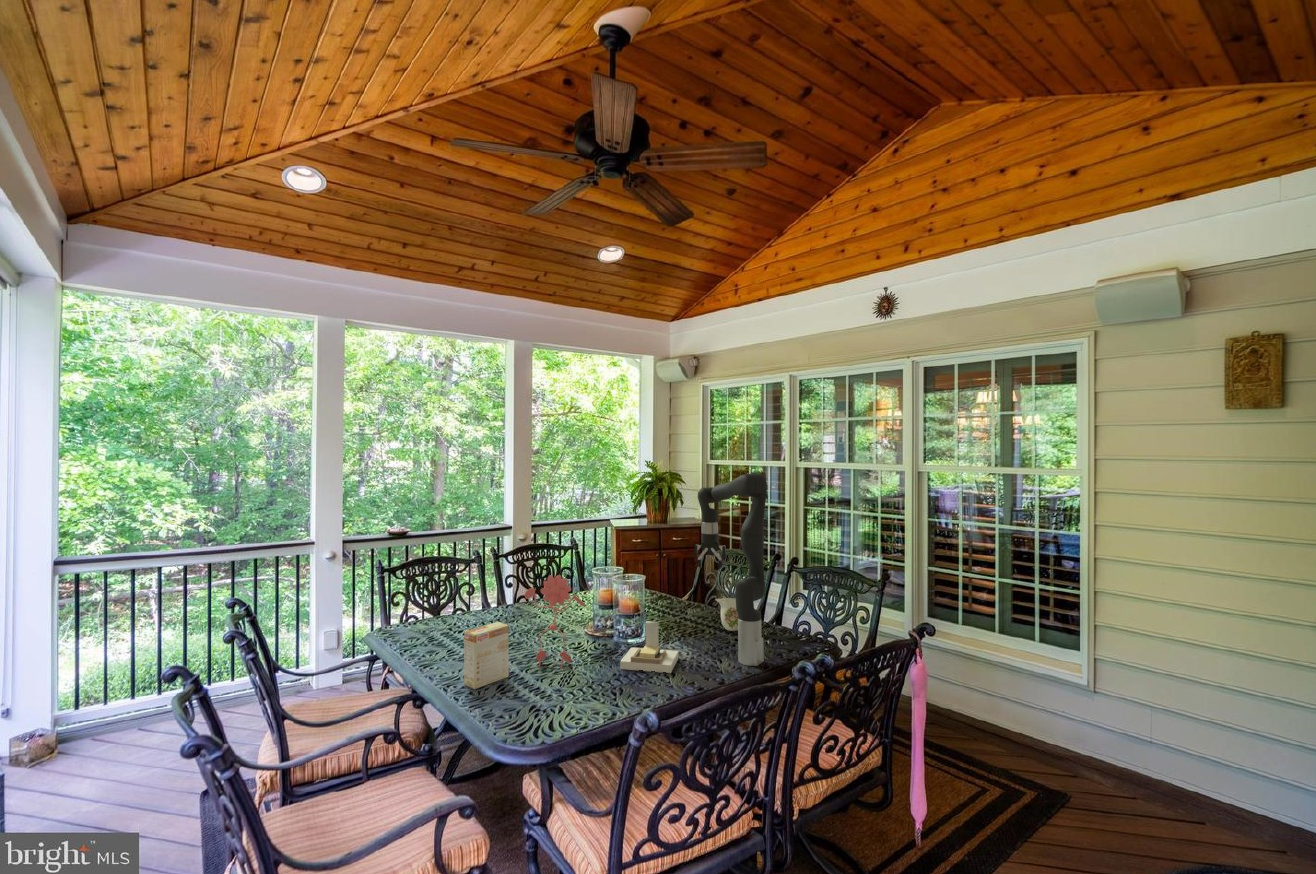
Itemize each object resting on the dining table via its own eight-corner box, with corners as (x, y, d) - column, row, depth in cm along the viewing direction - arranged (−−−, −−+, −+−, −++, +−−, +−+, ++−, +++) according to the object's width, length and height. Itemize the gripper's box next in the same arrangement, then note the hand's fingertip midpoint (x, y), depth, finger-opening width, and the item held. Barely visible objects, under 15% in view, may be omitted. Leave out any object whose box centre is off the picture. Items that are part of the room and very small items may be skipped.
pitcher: (754, 632, 270) (754, 603, 271) (715, 632, 272) (715, 602, 272) (752, 625, 281) (752, 597, 282) (715, 625, 283) (714, 596, 283)
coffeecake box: (498, 672, 224) (498, 621, 224) (509, 677, 219) (509, 624, 219) (463, 684, 212) (463, 630, 212) (474, 689, 207) (474, 634, 208)
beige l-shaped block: (644, 651, 237) (644, 620, 237) (660, 652, 235) (660, 621, 236) (639, 659, 228) (639, 627, 228) (655, 660, 226) (655, 628, 227)
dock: (678, 658, 238) (678, 646, 238) (670, 673, 222) (670, 660, 222) (631, 654, 243) (631, 642, 243) (620, 669, 227) (620, 656, 227)
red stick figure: (581, 671, 224) (581, 579, 226) (518, 667, 229) (519, 577, 230) (593, 658, 239) (593, 572, 241) (533, 654, 244) (534, 570, 245)
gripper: (692, 532, 259) (693, 569, 258) (724, 533, 256) (725, 570, 255) (695, 530, 266) (695, 566, 266) (726, 531, 263) (726, 567, 263)
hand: (710, 568), depth 261 cm, fingers open, 8 cm apart
